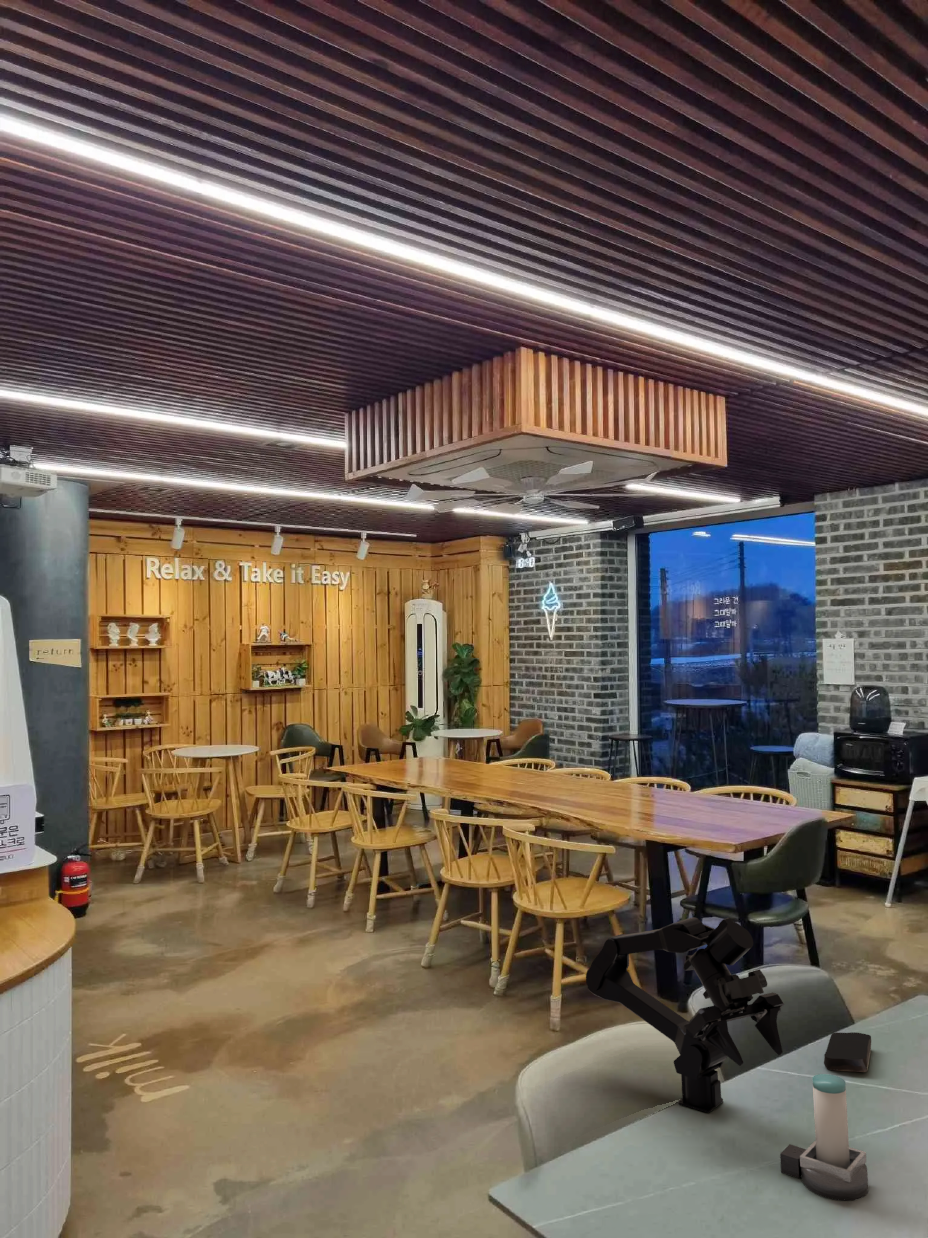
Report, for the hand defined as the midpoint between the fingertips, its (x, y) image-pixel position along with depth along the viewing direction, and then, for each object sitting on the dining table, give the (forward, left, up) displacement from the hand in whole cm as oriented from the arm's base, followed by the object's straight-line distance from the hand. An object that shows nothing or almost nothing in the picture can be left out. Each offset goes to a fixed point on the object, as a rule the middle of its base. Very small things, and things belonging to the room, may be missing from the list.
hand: (761, 1059), depth 164 cm
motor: (+13, -7, -14) cm, 20 cm away
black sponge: (0, +43, -14) cm, 46 cm away
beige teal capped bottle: (+15, -7, -11) cm, 20 cm away
